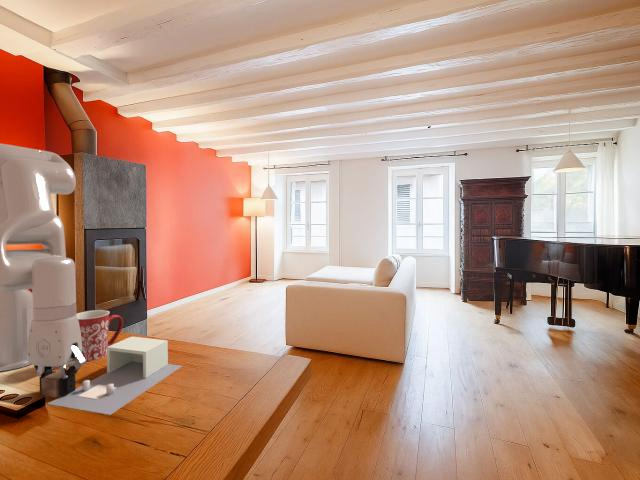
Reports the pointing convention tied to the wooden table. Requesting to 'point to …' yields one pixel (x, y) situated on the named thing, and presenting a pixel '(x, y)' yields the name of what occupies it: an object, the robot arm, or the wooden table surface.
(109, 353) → the housing cover
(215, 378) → the wooden table surface
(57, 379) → the block
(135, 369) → the base board
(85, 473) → the wooden table surface
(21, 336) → the robot arm
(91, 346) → the mug
